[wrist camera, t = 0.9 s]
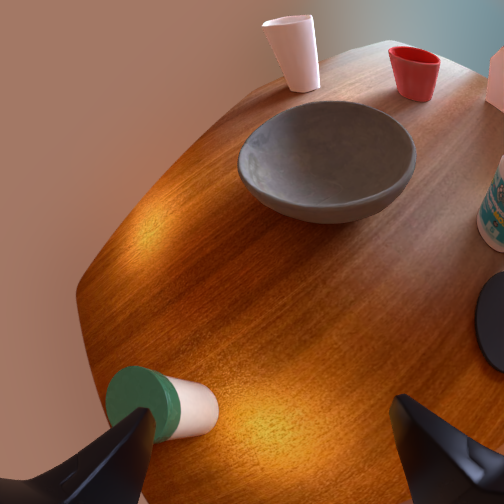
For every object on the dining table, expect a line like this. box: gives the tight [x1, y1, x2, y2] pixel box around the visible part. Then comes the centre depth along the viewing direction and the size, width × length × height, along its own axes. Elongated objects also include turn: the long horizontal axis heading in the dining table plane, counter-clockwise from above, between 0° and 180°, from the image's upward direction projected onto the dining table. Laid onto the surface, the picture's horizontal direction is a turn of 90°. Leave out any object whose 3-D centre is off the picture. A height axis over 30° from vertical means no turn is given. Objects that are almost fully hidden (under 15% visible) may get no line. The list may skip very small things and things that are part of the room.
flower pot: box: [388, 46, 440, 102], centre depth 37 cm, size 11×11×10 cm
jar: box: [164, 375, 219, 441], centre depth 21 cm, size 6×6×9 cm
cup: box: [262, 15, 320, 93], centre depth 45 cm, size 11×10×17 cm
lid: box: [106, 366, 181, 444], centre depth 18 cm, size 7×7×2 cm
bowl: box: [237, 101, 416, 224], centre depth 31 cm, size 21×21×8 cm
